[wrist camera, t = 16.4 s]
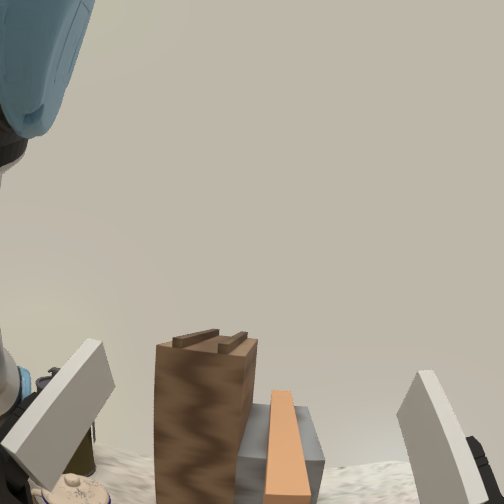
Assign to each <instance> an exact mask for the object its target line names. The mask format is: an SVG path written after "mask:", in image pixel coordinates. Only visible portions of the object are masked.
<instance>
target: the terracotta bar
mask: <svg viewBox="0 0 504 504" xmlns="http://www.w3.org/2000/svg"><path fill="white" fill-rule="evenodd" d="M310 498H311V492H310V486H309V481H308V476H307V471H306V465H305V460H304V455H303V450H302V445H301V439H300V434H299V429H298V424H297V419H296V414H295V409H294V405H293V399H292V394H291V391H279V390H272V394H271V405H270V419H269V433H268V447H267V461H266V473H265V486H264V497H263V504H309V503H310Z"/></svg>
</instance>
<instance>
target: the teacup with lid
mask: <svg viewBox="0 0 504 504" xmlns="http://www.w3.org/2000/svg"><path fill="white" fill-rule="evenodd" d="M31 495H32V500H33V504H39V503H38V502H37V501H36V499H35V497H34V495H38V496H41V497H43V499H44V501H45V502H46V504H110V503H111V499H110V495H109V494H108V492H107V490H106V489H105V488H104V487H103V486H102V485H101V484H99V483H98V482H96V481H94V480H92V479H90V478H87V477H84V476H80V475H75V474H72V473H68V474H62V475H61V476H60V478H59V480H58V482H57V483H56V485H55V487H54V489H53V490H52V492H49V491H47V490H45V489H44V488H42V489H37V488H33V489H31Z"/></svg>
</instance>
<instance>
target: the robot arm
mask: <svg viewBox="0 0 504 504" xmlns="http://www.w3.org/2000/svg"><path fill="white" fill-rule="evenodd" d="M94 3H95V0H0V186H1V178H2V174H3V173H5V172H6V171H7V170H9V169H10V168H11V167H12V166H14V165H15V164H16V163H18V162H19V161H20V160H21V159H22V157H23V156H24V154H25V150H26V147H27V143H28V139H31V138H34V137H35V136H42V135H44V134H45V133H46V132H47V131H48V130H49V129H50V128H51V126H52V124H53V122H54V120H55V118H56V116H57V114H58V111H59V108H60V106H61V103H62V99H63V96H64V92H65V89H66V87H67V86H68V84H69V81H70V78H71V75H72V72H73V69H74V66H75V63H76V60H77V57H78V54H79V50H80V48H81V45H82V42H83V38H84V35H85V32H86V29H87V26H88V23H89V20H90V16H91V13H92V9H93V6H94ZM114 388H115V384H114V381H113V378H112V374H111V371H110V368H109V364H108V361H107V357H106V354H105V350H104V346H103V343H102V341H98V340H94V339H90V338H88V339H87V340H86V341H85V342H84V343H83V344H82V345H81V347H80V348H79V349H78V350H77V351H76V352H75V353H74V354H73V356H72V357H71V358H70V359H69V360H68V361H67V362H66V364H65V365H64V366H63V367H62V368H61V369H60V370H59V372H58V373H57V374H56V375H55V376H54V377H53V379H52V380H51V381H50V382H49V383H48V384H47V386H46V387H45V388H44V389H43V390H42V392H41V393H40V394H39V393H37V392H33V393H32V394H31V377H30V373H29V371H28V370H26V369H24V368H22V367H20V366H16V364H15V361H14V360H13V358H12V356H11V355H10V353H9V352H8V351H7V350H6V349H5V348H4V347H3V344H2V337H1V330H0V504H33V500H32V495H31V490H30V486H29V483H28V481H27V480H28V478H29V477H30V478H31V479H32V480H33V481H34V482H35V483H36V484H37V485H39V486H40V487H42V488H44V489H45V490H47V491H49V492H52V490H53V489H54V487H55V485H56V483H57V482H58V480H59V478H60V476H61V475H62V473H63V471H64V470H65V468H66V466H67V464H68V463H69V461H70V459H71V458H72V456H73V454H74V453H75V451H76V449H77V448H78V446H79V444H80V443H81V441H82V439H83V438H84V436H85V434H86V433H87V431H88V430H89V428H90V426H91V425H92V423H93V421H94V420H95V418H96V417H97V415H98V413H99V412H100V410H101V409H102V407H103V405H104V404H105V402H106V400H107V399H108V398H109V396H110V394H111V393H112V391H113V390H114ZM397 418H398V421H399V424H400V428H401V431H402V434H403V438H404V441H405V445H406V449H407V452H408V456H409V460H410V464H411V467H412V471H413V475H414V479H415V484H416V488H417V492H418V496H419V501H420V504H504V497H503V496H502V495H501V493H500V491H499V488H498V485H497V482H496V480H495V477H494V474H493V472H492V469H491V467H490V465H488V463H489V462H488V460H487V457H485V453H484V450H483V448H482V446H481V444H480V443H479V442H478V441H477V440H476V439H475V438H474V437H473V436H470V437H466V438H465V436H464V434H463V432H462V429H461V427H460V425H459V423H458V420H457V418H456V416H455V414H454V412H453V410H452V407H451V405H450V403H449V401H448V399H447V397H446V395H445V393H444V391H443V389H442V387H441V385H440V383H439V381H438V379H437V377H436V375H435V373H434V371H433V370H423V371H417V374H416V376H415V378H414V380H413V382H412V384H411V386H410V389H409V391H408V393H407V395H406V397H405V399H404V401H403V403H402V405H401V407H400V409H399V410H398V412H397Z"/></svg>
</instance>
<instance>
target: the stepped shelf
mask: <svg viewBox="0 0 504 504" xmlns="http://www.w3.org/2000/svg"><path fill="white" fill-rule="evenodd" d="M247 335H248V332H240V333H238V334H236V335H234V336H232V337H228V336H219V329H210V330H206V331H202V332H196V333H192V334H187V335H183V336H178V337H173V341H171V342H166V343H162V344H158V345H156V362H155V385H154V469H155V490H156V504H263V497H264V486H265V473H266V461H267V447H268V433H269V419H270V405H265V404H253V403H252V402H253V391H254V390H253V389H254V379H255V367H256V355H257V343H258V339H251V338H247ZM294 409H295V414H296V419H297V424H298V429H299V434H300V439H301V445H302V450H303V455H304V460H305V465H306V471H307V476H308V481H309V486H310V492H311V498H310V503H309V504H316V502H317V498H318V493H319V489H320V484H321V480H322V475H323V470H324V464H325V458H324V455H323V452H322V449H321V446H320V443H319V440H318V437H317V434H316V431H315V428H314V425H313V422H312V419H311V416H310V413H309V410H308V407H299V406H294Z"/></svg>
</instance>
